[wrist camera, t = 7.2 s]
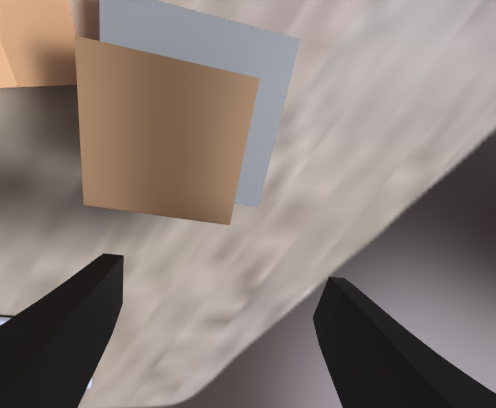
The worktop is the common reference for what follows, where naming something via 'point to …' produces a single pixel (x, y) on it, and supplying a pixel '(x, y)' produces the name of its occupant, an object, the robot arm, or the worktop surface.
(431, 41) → the worktop surface
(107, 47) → the walnut cube
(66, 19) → the orange faceted block
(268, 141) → the gray slab
